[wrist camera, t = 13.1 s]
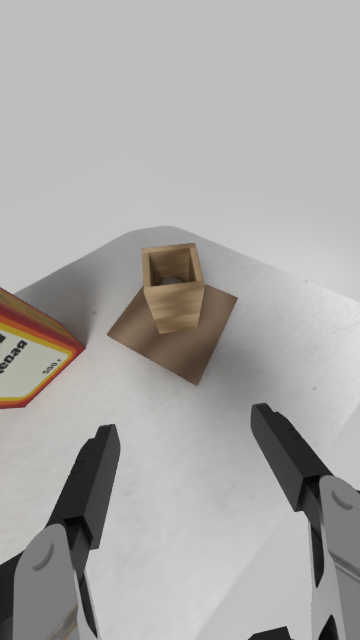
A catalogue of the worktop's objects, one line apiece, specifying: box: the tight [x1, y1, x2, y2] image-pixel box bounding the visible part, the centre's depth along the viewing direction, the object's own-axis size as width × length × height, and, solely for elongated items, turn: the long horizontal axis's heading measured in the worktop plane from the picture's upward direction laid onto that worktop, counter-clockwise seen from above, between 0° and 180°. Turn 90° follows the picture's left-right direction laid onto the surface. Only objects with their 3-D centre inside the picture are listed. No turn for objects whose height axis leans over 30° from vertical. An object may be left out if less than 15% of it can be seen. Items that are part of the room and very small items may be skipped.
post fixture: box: [107, 277, 238, 386], centre depth 22 cm, size 14×14×8 cm
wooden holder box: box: [142, 243, 205, 334], centre depth 20 cm, size 5×5×10 cm
